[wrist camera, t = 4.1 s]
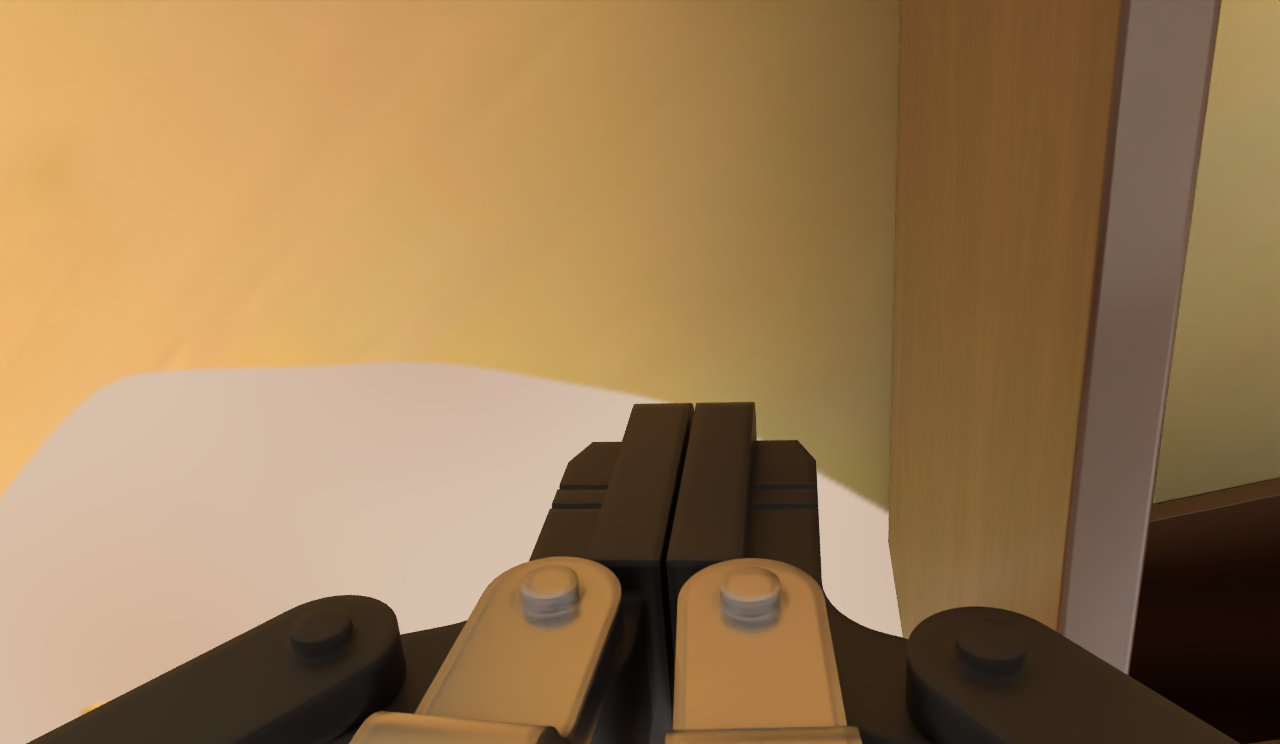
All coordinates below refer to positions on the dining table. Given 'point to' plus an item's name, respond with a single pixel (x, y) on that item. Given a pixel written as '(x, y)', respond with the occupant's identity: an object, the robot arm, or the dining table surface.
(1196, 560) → the cupboard
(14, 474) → the dining table surface
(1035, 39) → the door
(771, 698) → the robot arm
